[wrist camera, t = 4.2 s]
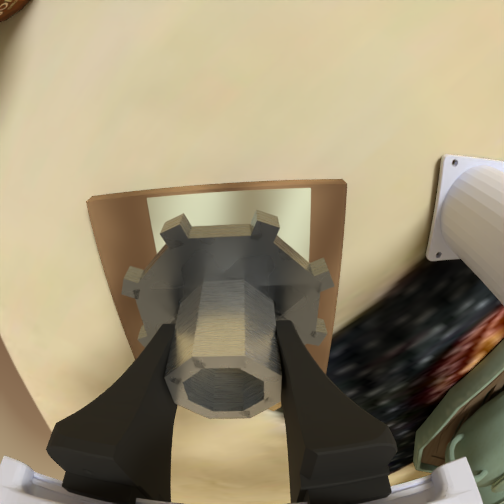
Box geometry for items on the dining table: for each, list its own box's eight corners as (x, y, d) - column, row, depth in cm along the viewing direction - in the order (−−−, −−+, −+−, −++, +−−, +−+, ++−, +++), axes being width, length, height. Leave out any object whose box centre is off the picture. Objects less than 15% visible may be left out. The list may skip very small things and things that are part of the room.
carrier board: (342, 179, 19) (366, 204, 15) (320, 388, 29) (327, 427, 25) (92, 196, 19) (60, 224, 15) (155, 393, 29) (147, 430, 25)
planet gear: (336, 206, 13) (379, 281, 8) (317, 360, 17) (333, 436, 13) (110, 218, 13) (57, 292, 8) (155, 364, 17) (140, 439, 13)
